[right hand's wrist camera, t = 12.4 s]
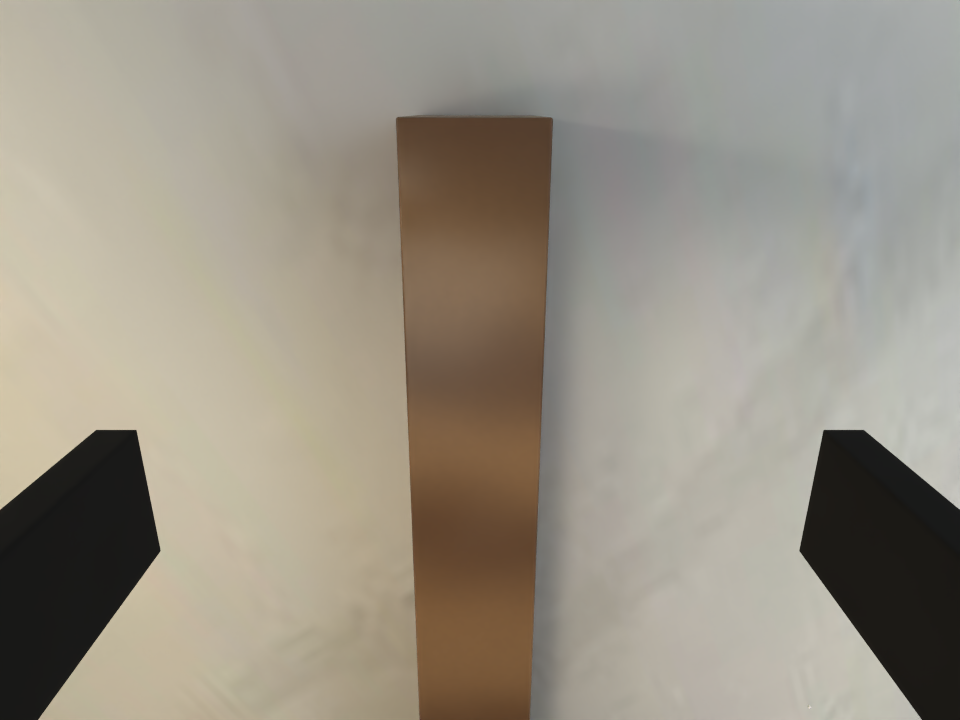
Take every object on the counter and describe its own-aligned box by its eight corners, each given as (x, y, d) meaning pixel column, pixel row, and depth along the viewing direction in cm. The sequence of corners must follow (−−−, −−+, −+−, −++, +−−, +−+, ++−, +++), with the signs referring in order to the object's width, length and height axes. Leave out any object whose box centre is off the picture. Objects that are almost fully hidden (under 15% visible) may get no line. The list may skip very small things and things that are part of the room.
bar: (416, 115, 30) (395, 117, 23) (535, 115, 30) (553, 117, 23) (439, 912, 49) (432, 1050, 42) (511, 912, 49) (517, 1050, 42)
